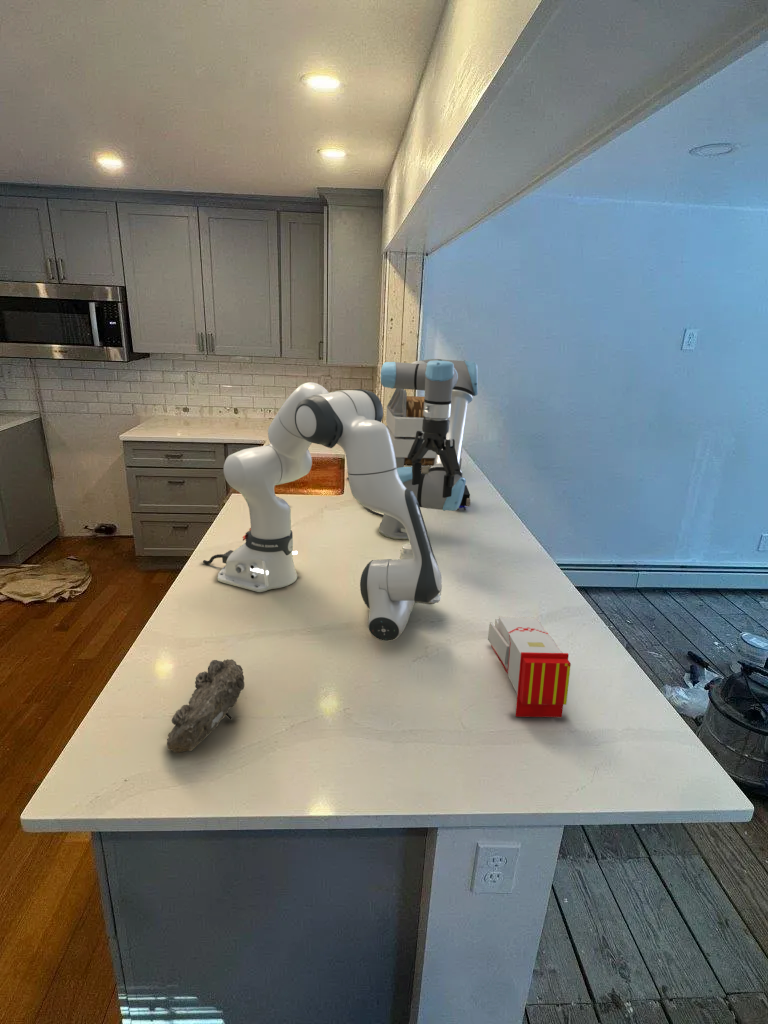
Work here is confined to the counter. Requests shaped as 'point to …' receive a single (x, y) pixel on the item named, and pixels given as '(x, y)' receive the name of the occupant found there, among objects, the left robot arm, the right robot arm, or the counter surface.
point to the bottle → (406, 552)
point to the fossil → (206, 705)
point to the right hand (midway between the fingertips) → (431, 490)
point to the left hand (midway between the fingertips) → (407, 574)
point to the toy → (531, 665)
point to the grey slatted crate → (406, 426)
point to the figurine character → (465, 499)
